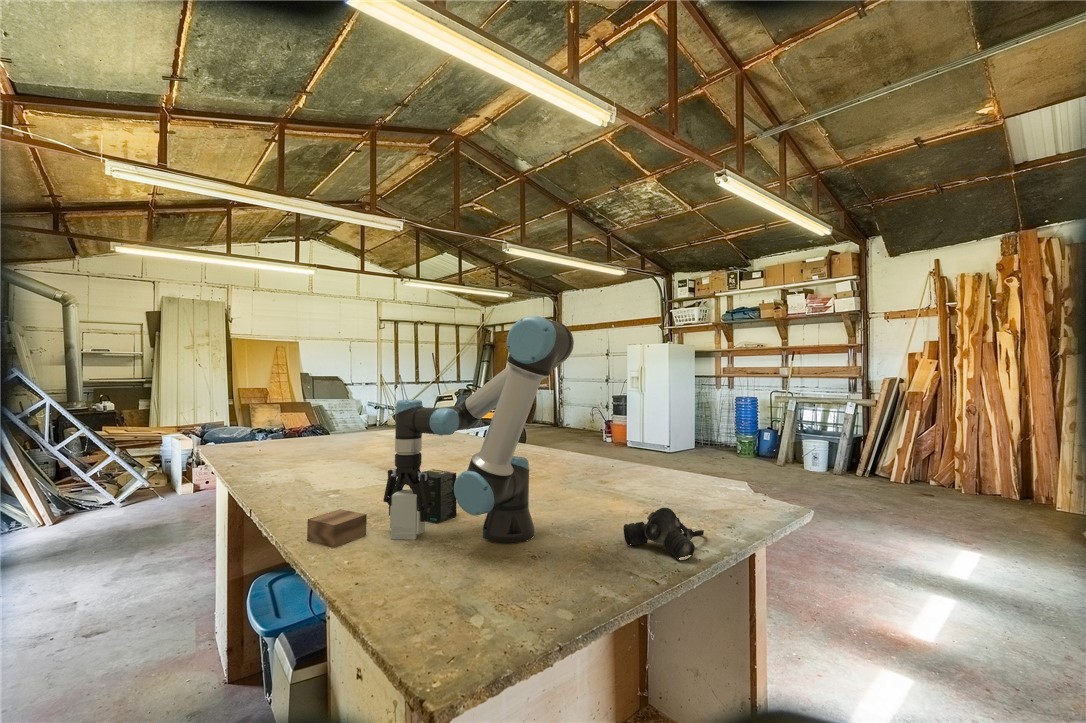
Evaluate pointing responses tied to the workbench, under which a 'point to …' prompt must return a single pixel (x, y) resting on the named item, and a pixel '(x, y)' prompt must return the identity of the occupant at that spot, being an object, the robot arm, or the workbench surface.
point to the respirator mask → (663, 533)
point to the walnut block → (336, 527)
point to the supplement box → (404, 515)
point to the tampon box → (441, 496)
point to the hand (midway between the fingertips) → (407, 529)
